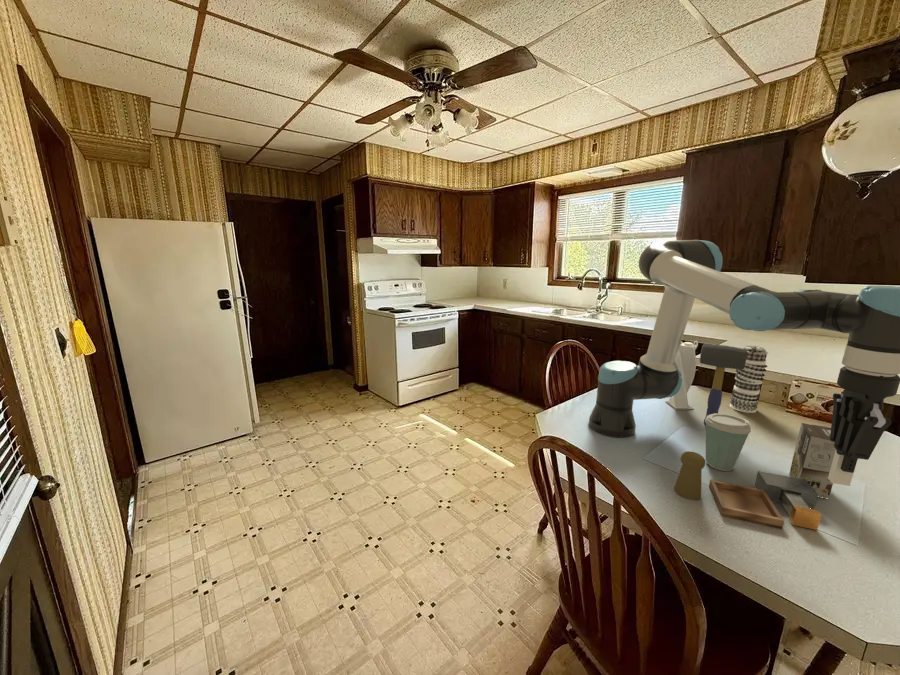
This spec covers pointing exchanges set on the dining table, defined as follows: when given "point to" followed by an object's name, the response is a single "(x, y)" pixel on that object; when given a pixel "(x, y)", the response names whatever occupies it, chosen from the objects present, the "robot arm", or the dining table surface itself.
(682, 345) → the skyscraper
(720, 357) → the rubber mallet
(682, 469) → the cork
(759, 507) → the tray
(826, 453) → the coffee box
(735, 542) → the dining table surface
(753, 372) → the white patterned cylinder
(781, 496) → the orange and gray block
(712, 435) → the disposable coffee cup
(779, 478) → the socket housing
